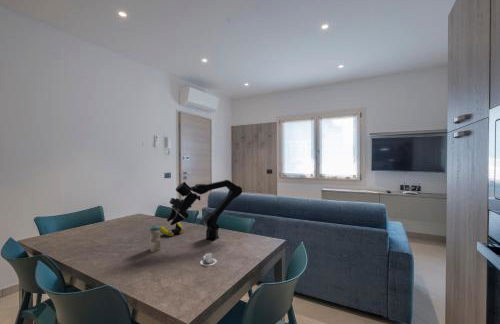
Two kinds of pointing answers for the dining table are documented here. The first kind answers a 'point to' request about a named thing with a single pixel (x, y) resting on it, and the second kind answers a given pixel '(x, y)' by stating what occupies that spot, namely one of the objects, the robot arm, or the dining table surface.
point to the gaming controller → (172, 232)
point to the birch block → (154, 238)
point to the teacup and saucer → (208, 259)
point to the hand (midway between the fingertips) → (169, 222)
